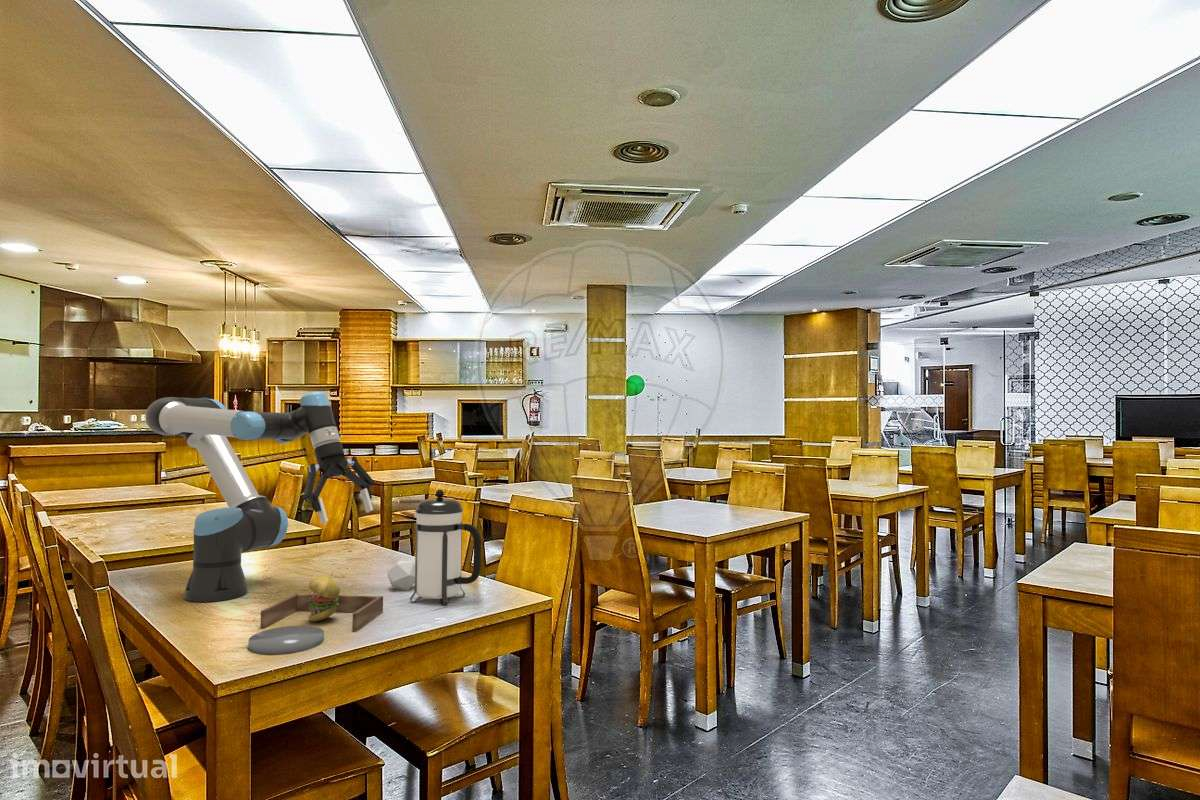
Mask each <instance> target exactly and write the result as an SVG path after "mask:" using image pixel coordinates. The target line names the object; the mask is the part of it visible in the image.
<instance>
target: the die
mask: <svg viewBox="0 0 1200 800" xmlns="http://www.w3.org/2000/svg"><path fill="white" fill-rule="evenodd" d="M386 574H387V577H388V579H389V583H390V584H391V588H392V590H397V591H398V590H399V591H408V590H409V589H410V588H411V587H413V586H414V585H415V561H410V560H409V561H408V560H399V561H397V562H396V564H395V565H393V566H392V567H391V568H389V570H387V572H386Z"/></svg>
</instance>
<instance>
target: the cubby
mask: <svg viewBox="0 0 1200 800" xmlns="http://www.w3.org/2000/svg"><path fill="white" fill-rule="evenodd" d="M314 595H316V593H314ZM312 596H313V593H310V594H309V593H294V594H293V595H291V596H288V597H287V598H284V599H282V600H280V601H279V602H278V601H277V602H276V603H274V604H271V605H270V606H268V607H266V608H264V609H261V611H260V627H259V628H260V629H266V628H268V627H270V626H272V625H273V624H275V623H277V622H279V621H281V620H283V619H284V618H286V617H288V616H290V615H293V614H294V613H295V612H311V610H310V609H312V610H314V608H311V607H310V606H309V605H310V602H309V598H311V597H312ZM338 597H339V599H338V601H337V602H338V603H339V604H338V605H337V610H336V611H335V612H334V613H352V620H351V621H352V625H351V627H352V628H351V629H352V630H351V631H352V632H357V631H359V630H360V629H362V627H364V626H366V625H367V624H368V623H370V622H371V621H373V620H374V619H375V618H378V616H380V614H383V612H384V596H383V595H357V594H356V595H355V594H354V595H351V594H346V595H345V594H339V596H338ZM326 607H327V606H326ZM315 609H316V610H317V607H316V608H315ZM321 609H322V608H321ZM317 611H318V610H317Z"/></svg>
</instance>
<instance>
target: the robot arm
mask: <svg viewBox="0 0 1200 800" xmlns="http://www.w3.org/2000/svg"><path fill="white" fill-rule="evenodd" d="M299 402H300V407H298V408H296V409H295V410H292V411H290V412H264V411H263V412H262V411H251V410H247V411H246V410H238V409H237V410H235V409H227V408H226V407H225V406H224V404H223V403H222V402H220V401H219V400H216V399H212V398H208V397H199V398H194V397H191V398H190V397H179V396H178V397H176V396H175V397H174V396H169V397H168V396H167V397H162V398H161V397H160V398H158V399H156V400H155V401H153V402H152V403H151V404H150V405H148V407H147V409H146V411H145V422H146V425H147V426H148V428H149V429H150V430H151V431H152V432H154V433H156V434H158V435H161V436H169V437H170V436H172V437H174V436H176V437H177V436H179V437H180V436H181V437H183V438H184V441H186V444H187V445H188V447H190V448H193V449H196V450H197V452H198V454H199V455H200V457H201V460H202V462H203V463H204V465H205V466H206V469H207V470H208V472H209V474H210V476H211V478H212V479H213V481H214V484H215V485H216V486H217V488H218V490H219V492H220V493H221V496H222V498H223V499H224V501H225V503H226V505H227V507H221V508H214V509H210V510H207V511H204V512H201V513H199V514H198V515H197V516H196V517H195V519H194V525H193V526H194V527H193V531H192V533H193V554H192V555H193V556H192V560H193V562H192V563H193V564H192V571H191V574H190V575H189V578H188V580H187V583H186V587H185V589H184V600H185V601H188V602H194V603H195V602H197V603H198V602H199V603H206V602H208V603H209V602H210V603H211V602H219V601H226V600H231V599H237V598H239V597H243V596H245V595H246V594H247V593H248V583H247V580H246V576H245V573H244V570H243V567H242V553H245V552H251V551H255V550H260V549H268V548H270V547H274V546H276V545H278V544H280V543H281V542H282V541H283V539H285V537H286V535H287V532H288V528H289V520H288V519H289V518H288V515H287V513H286V511H285V510H284V509H283V508H282V507H280V506H279V507H278V506H275V505H274V506H272V505H271V503H270V501H269V498H267V496H265V495H260V494H259V492H258V491H257V489H256V488H255V485H254V484H253V482H252V480H251V479H250V477H249V475H248V473H247V472H246V469H245V468H244V466H243V464H242V463H241V461H240V459H239V458H238V455H237V453H236V452H235V450H234V448H233V447H232V445H231V443H230V441H229V440H228V438H227V437H229V438H236V439H238V440H243V441H253V440H274V441H275V442H278V443H279V444H287V443H289V442H293V441H295V440H297V439H299V438H301V437H302V436H304V435H306V434H309V438H310V442H311V445H312V448H314V450H313V452H314V455H315V459H316V461H317V462H316V463H317V464H315V463H311V464H310V465H308V466H307V477H306V483H305V488H304V493H303V497H302V499H303V500H304V501H309V502H311V503H312V508H313V511H314V512H315V513H317V515H318V518H319V521H320V524H321V525H322V524H323V525H324V524H325V523H327V522H329V519H328V515H327V512H326V509H325V508H326V507H325V505H324V501H323V498H322V497H320V495H321V492H322V491H323V488H324V486H325V485H326V483H327V480H328V479H330V478H331V479H332V478H335V477H340V476H342V477H345V478H347V479H348V480H349V481H350V482H352V483H353V484H354V485H356V486H357V487H359V488H360V489H361V490H360V491H359V493H360V496H361V499H362V502H363V507H364V510H365V513H367V514H369V513H370V512H371V511H373V510H374V508H373V503H372V502H371V500H372V499H373V495H372V492H371V490H370V487H372V486H373V485H375V481H374V479H373V478H372V477H371V476H370V474H368V472H367V471H366V470H365V468H364V467H362V465H361V463H359V460H358V458H357V456H354V455H353V456H352V457H350V458H348V459H347V458H346V456H345V451H344V447H343V444H342V442H340V441H341V438H340V433H339V429H338V427H337V423H336V420H335V417H334V413H333V412H334V411H333V410H332V405H331V403H330V400H329V398H328V394H326V392H324V391H313V392H309V393H306V394H304V395H302V396H301V398H299ZM348 466H349V467H348ZM350 467H351V468H350ZM318 471H320V472H321V474H320V477H319V480H318V482H317V483H316V485H315V480H316V476H317V472H318ZM353 471H354V472H353ZM314 486H315V488H314ZM319 497H320V498H319Z"/></svg>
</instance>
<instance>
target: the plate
mask: <svg viewBox="0 0 1200 800" xmlns="http://www.w3.org/2000/svg"><path fill="white" fill-rule="evenodd" d="M324 641H325V631H324V629H323V628H321V627H318V626H312V625H289V626H288V625H287V626H280V627H275V628H270V629H267V630H263V631H260V632H256V633H254V634H252V635H251V636H250V637H249V638H248V645H247V647H248V650H249V651H250V652H252V653H254V654H260V655H286V654H292V653H298V652H302V651H306V650H309V649H313V648H315V647H318V646H319V645H321V644H322V643H323V642H324Z"/></svg>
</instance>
